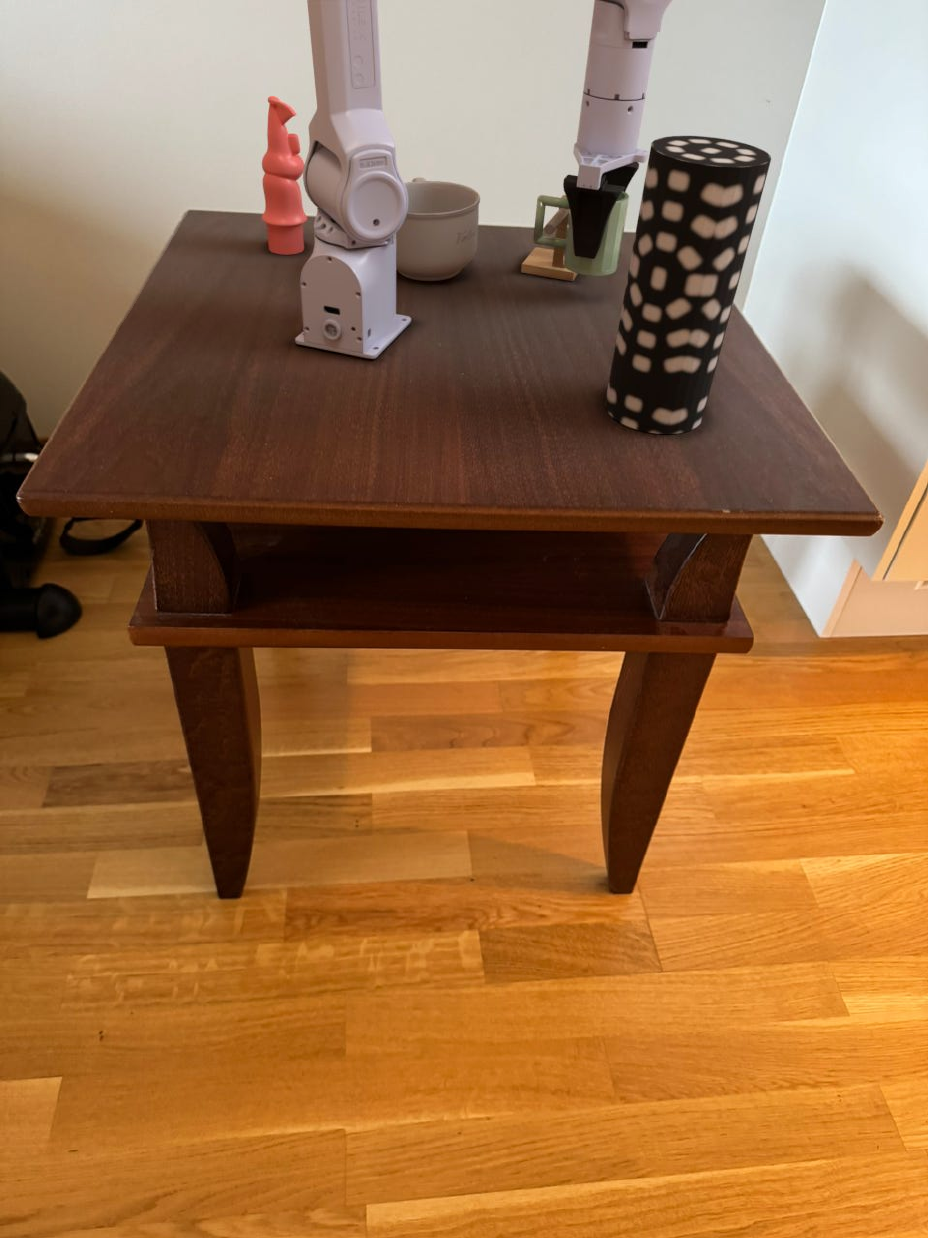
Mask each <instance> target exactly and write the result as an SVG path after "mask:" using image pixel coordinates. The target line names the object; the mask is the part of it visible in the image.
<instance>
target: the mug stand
mask: <svg viewBox="0 0 928 1238" xmlns="http://www.w3.org/2000/svg"><path fill="white" fill-rule="evenodd" d="M560 198H565V199H567V197H566V194H562V196H561V197H560ZM568 215H569V209H564V208H558V210H557V211H556V212H555V214H554V215H553V216H552V217H551V218H550V220H548V222H547V223H546V224H545V226H543V232H544V233H545V234H546V235H548V236H550V235H552V234H553V233H554V232H555V236H554V238H560V239H566V231H567V223H568ZM563 254H564V249H562V248H556V247H553V249H549V248H543V247H538V246H536V247H534V248H533V249H532V251H531V252H530V253H529V254H528V255H527V257H526V258H525V259H524V260H523V262H522V263H521V267H520V273H522V274H528V275H534V276H540V277H545V278H551V279H557V280H561V281H568V282H574V281H575V279H576V278H577V276H578V275H579V274H578V273H575V272H572V271H570V270H568V269H566V268H565V267H564V265H563Z"/></svg>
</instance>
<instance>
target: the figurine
mask: <svg viewBox="0 0 928 1238" xmlns="http://www.w3.org/2000/svg"><path fill="white" fill-rule="evenodd" d="M267 103H268V104H269V106H268V113H267V130H266V132H267V133H266V137H267V149H266V152H265V154H264V155H263V157H262V160H261V169H262V171H263V172H264V174H263V177H262V181H261V182H262V189H263V195H264V196H263V197H264V201H265V202H264V203H265V204H264V205H265V206H264V207H265V208H264V212H263V214H262V215H261V221H262V222H263V223H265V224H266V231H267V243H268V250H269V251H270V252H271V253H273V254H276V255H280V256H281V255H282V256H283V255H284V256H289V255H290V256H291V255H296V254H300V253H302V252H303V251H304V250H305V241H304V240H305V239H304V228H303V224H304V223H306V222H307V221H308V217H307V215H306V213H305V210H304V205H303V198H302V197H303V196H302V190H301V187H300V185H299V183H298V180H299V179H300V178H301V177H302V176H303V169H304V164H305V162H304V160H303V157H301V156H300V155H299V154H300V153H301V145H300V138H299V135H298V134H296V133H289V131H288V129H287V125H286V124H287V122H289V121H290V120H291V119H292V118H294V117H296V116H297V115H298V114H297V113H296V111H295V110H294V109H293V108H292V107H291V106H290V105H289V104H287V103H285V102H284V101H280V99H279V98H278V97H277V96H275V95H270V96H268V97H267Z"/></svg>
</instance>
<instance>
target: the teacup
mask: <svg viewBox="0 0 928 1238" xmlns="http://www.w3.org/2000/svg"><path fill="white" fill-rule="evenodd" d="M404 183H405V186H406V189H407V193H408V210H407V214H406V217H405V220H404V222H403V224H402V226H401V227H400V229H399V230H398V231H397V232H396V271H397V272H398V273H399V274H400V275H402V276H404V277H405V278H407V279H410V280H414V281H415V280H416V281H420V282H438V281H444V280H448V279H451V278H453V277H455V276H457V275H458V274H459V273H460V272H461V271H462V270H463V269H465V268H466V267H467V266H468V265H469V264H470V263H471V262H472V260H473V259H474V257H475V255H476V252H477V247H478V241H479V240H478V239H479V238H478V237H479V219H480V217H479V216H480V215H479V212H480V211H479V208H480V207H479V206H480V203H481V195H480V194H479V192H477V190H475V189H474V188H472V187H470V186H467V185H464V184H460V183H455V182H451V181H442V180H441V181H439V180H434V181H433V180H426V178H425V177H414V178H413V179H412V180H411V181H408V182H404Z"/></svg>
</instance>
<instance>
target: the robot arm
mask: <svg viewBox="0 0 928 1238" xmlns="http://www.w3.org/2000/svg"><path fill="white" fill-rule="evenodd" d="M672 1H673V0H594V1H593V9H592V18H591V24H590V26H591V28H590V34H589V42H588V43H589V44H588V49H587V50H588V51H587V57H586V64H585V65H586V66H585V74H584V82H583V91H582V95H581V96H582V97H581V105H580V113H579V120H578V128H577V136H576V142H575V143H574V144H573V152H572V153H573V156H574V158H575V160H576V162H577V165H578V172H577V175H575V174H567V175H566V176H565V177H564V178H563V182H562V185H563V187H562V188H563V192H564V195H566V197H567V200H568V203H569V207H570V212H571V218H572V229H573V245H574V253H575V256H578V257H584V258H590V259H595V257H596V255H597V253H598V251H599V248H600V246H601V242H602V239H603V236H604V232H605V229H606V225H607V222H608V219H609V217H610V214H611V212H612V209H613V207H614V205H615V203H616V201H617V199H618V198H619V196H620V195H621V193H622V191H624V192H626V191H627V189H628V187H629V185H630V183H631V182H632V179H633V178H634V177H635V175H636V173H637V172H638V170H639V168H640V163H641V164H644V163H646V162H648V160H649V154H650V151H648V150H646V149H640V148H638V145H639V144H638V143H639V137H640V132H641V126H642V120H643V113H644V107H645V101H646V95H647V89H648V84H649V79H650V72H651V65H652V59H653V53H654V47H655V43H656V38H657V36H658V32H659V33H660V32H661V28H662V21H663V18H664V14H665V12H666V10H667V8H669V6H670V4H671V3H672ZM306 4H307V11H308V13H307V15H308V24H309V25H308V26H309V33H310V34H309V35H310V45H311V54H312V56H311V57H312V66H313V77H314V78H313V79H314V87H315V98H316V110H315V113H314V114H313V116H312V118H311V120H310V122H309V124H308V137H309V138H308V139H309V146H308V153H307V155H306V158H305V162H304V169H303V174H302V180H303V181H302V182H303V187H304V191H305V193H306V195H307V197H308V198H309V200H310V202H312V204H313V205H314V206H315V207H316V210H317V212H316V216H315V218H314V224H313V233H314V245H313V251H312V253H311V255H310V257H309V258H308V259H307V261H306V262H305V264H304V265H303V267H302V270H301V272H300V275H299V276H300V277H299V279H300V280H299V288H300V300H301V301H300V302H301V315H302V316H301V317H302V328H303V329H302V330H303V331H302V332H300V333H299V334H298V335H297V336H296V337H295V338H294V343H295V344H297V345H299V346H305V347H310V348H314V349H318V350H319V349H320V350H324V351H330V352H334V353H338V354H339V353H340V354H343V355H350V356H353V357H358V358H363V359H369V360H374V359H376V358H378V357H379V356H380V355H381V354H382V353H383V351H385V349H386V348H387V347H388V346H390V345H391V343H392V342H393V341H394V340H396V338H397V337H398V336H399V335H400V334H401V333H402V332H403V331H404V330H405V329H406V328H407V327H408V326H409V325H410V324H411V322H412V318H411V317H410V316H408V315H404V314H400V313H399V314H397V269H396V232H397V231H398V230H399V229H400V227H401V226H402V224H403V222H404V220H405V217H406V214H407V210H408V193H407V189H406V186H405V183H406V182H404V180H403V178H402V176H401V174H400V171H399V168H398V164H397V150H396V145H395V142H394V139H393V136H392V133H391V131H390V128H389V126H388V123H387V121H386V119H385V114H384V111H383V95H382V94H383V93H382V75H381V74H382V73H381V54H380V52H381V51H380V34H379V17H378V16H379V13H378V0H306Z"/></svg>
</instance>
